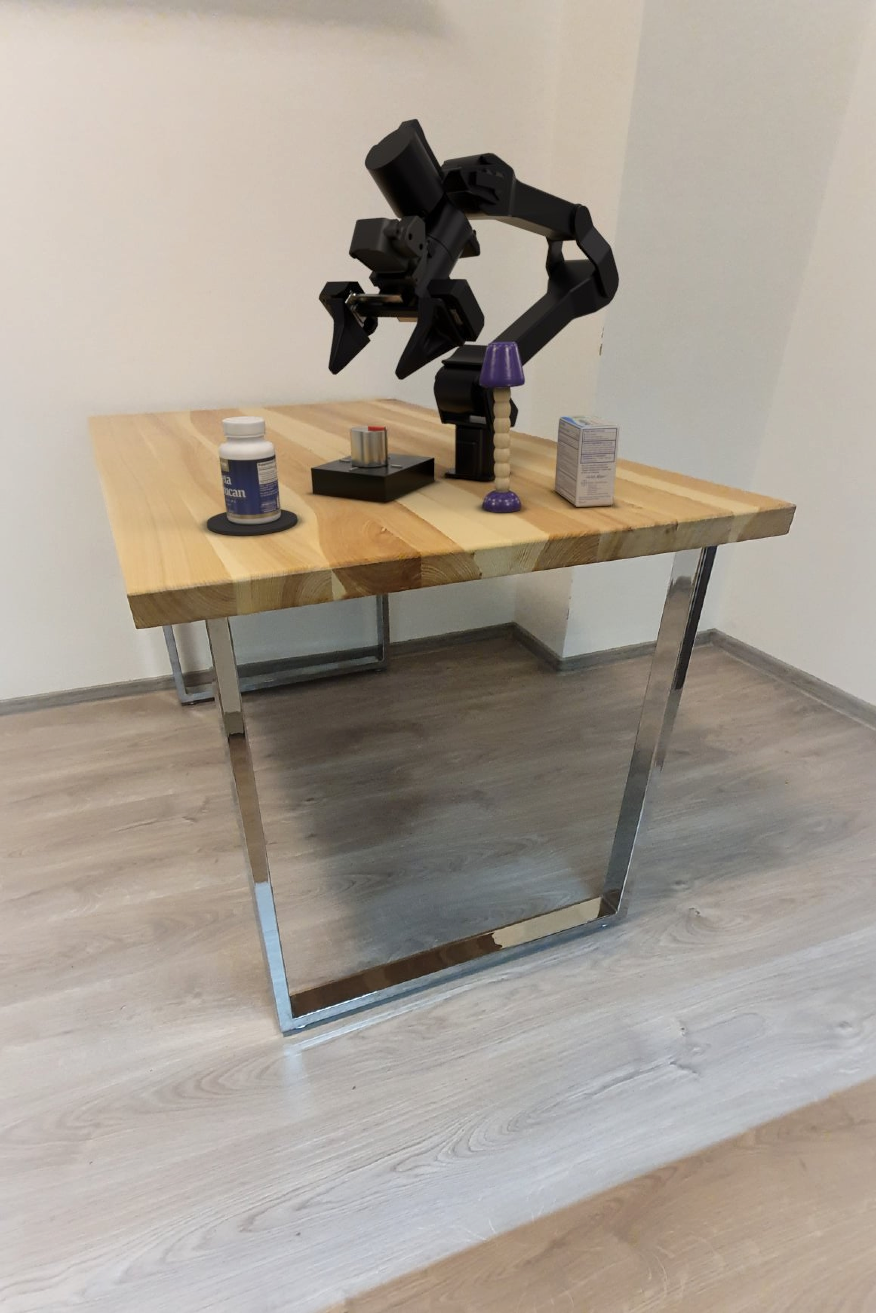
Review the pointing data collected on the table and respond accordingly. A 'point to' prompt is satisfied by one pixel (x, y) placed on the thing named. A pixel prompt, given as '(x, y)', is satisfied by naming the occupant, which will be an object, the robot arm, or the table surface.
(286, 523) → the coaster
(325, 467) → the panel
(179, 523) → the table surface
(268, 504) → the pill bottle
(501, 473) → the toy lamp
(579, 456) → the medicine box
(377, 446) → the dial
